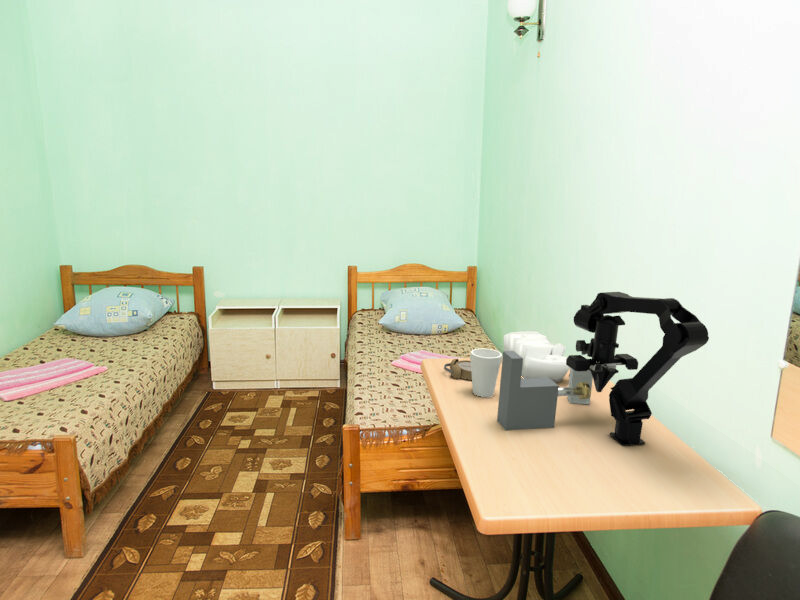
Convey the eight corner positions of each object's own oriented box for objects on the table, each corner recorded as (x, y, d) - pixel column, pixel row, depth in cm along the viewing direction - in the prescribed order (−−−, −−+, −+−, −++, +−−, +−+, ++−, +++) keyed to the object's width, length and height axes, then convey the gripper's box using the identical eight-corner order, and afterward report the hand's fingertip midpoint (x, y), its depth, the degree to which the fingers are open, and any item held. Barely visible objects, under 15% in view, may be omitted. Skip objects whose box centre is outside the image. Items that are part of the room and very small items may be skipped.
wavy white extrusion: (497, 352, 215) (499, 325, 213) (539, 352, 217) (542, 326, 214) (526, 387, 181) (529, 355, 179) (575, 387, 183) (579, 356, 181)
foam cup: (496, 401, 169) (500, 360, 166) (465, 397, 171) (468, 356, 168) (499, 390, 178) (503, 350, 175) (470, 386, 180) (473, 346, 177)
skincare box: (586, 399, 173) (591, 362, 170) (589, 405, 169) (594, 367, 166) (566, 397, 174) (570, 360, 171) (569, 403, 170) (573, 365, 167)
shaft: (589, 401, 154) (591, 385, 153) (546, 403, 151) (548, 387, 150) (580, 395, 158) (582, 379, 157) (538, 397, 156) (540, 381, 155)
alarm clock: (492, 374, 183) (447, 364, 183) (488, 388, 184) (443, 378, 184) (487, 362, 194) (445, 353, 194) (484, 376, 195) (441, 366, 195)
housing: (554, 427, 153) (562, 357, 148) (505, 430, 150) (512, 358, 145) (544, 418, 158) (551, 349, 154) (496, 420, 155) (503, 351, 151)
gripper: (619, 328, 163) (612, 380, 166) (559, 329, 159) (553, 382, 162) (643, 340, 152) (635, 394, 156) (579, 341, 148) (572, 397, 152)
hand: (598, 391), depth 157 cm, fingers closed
